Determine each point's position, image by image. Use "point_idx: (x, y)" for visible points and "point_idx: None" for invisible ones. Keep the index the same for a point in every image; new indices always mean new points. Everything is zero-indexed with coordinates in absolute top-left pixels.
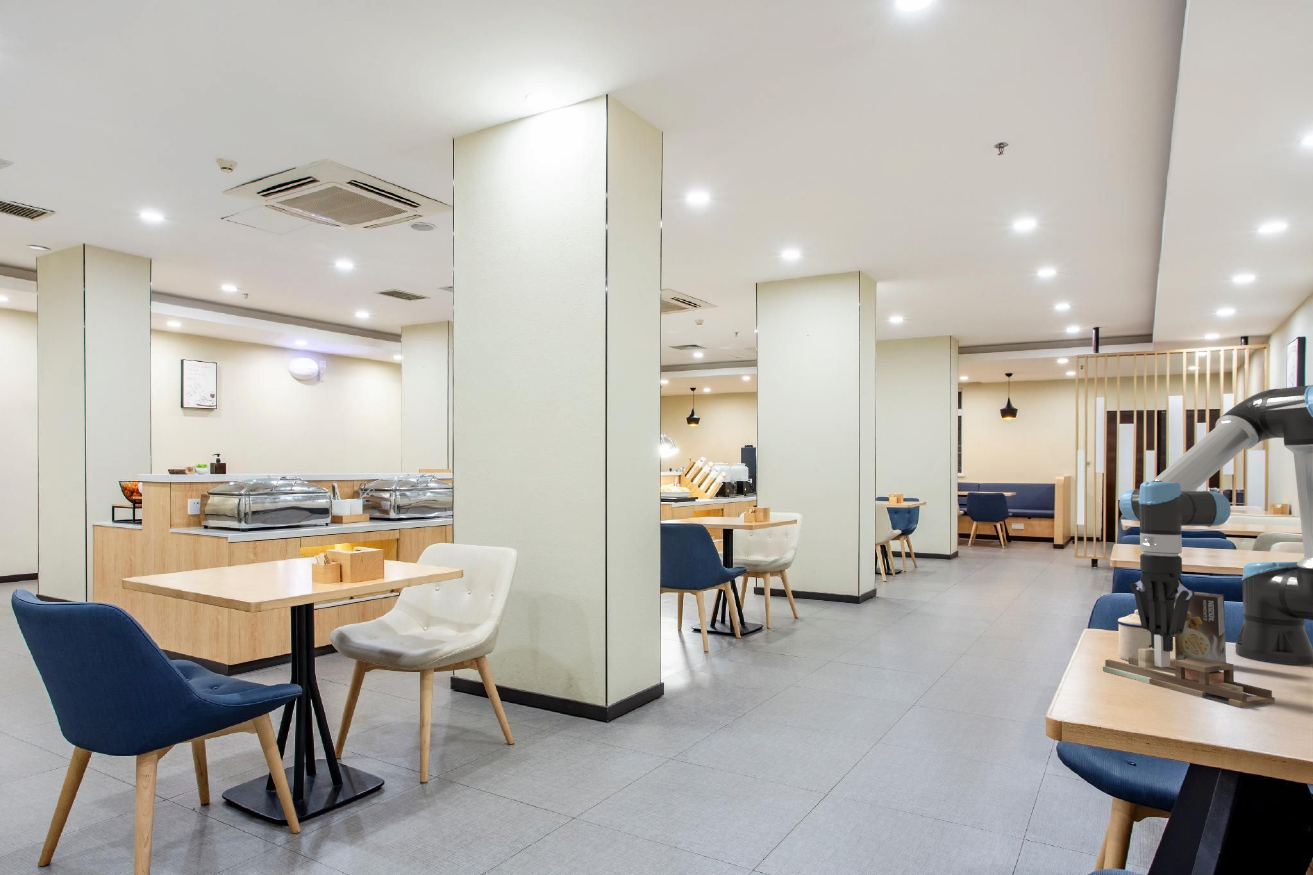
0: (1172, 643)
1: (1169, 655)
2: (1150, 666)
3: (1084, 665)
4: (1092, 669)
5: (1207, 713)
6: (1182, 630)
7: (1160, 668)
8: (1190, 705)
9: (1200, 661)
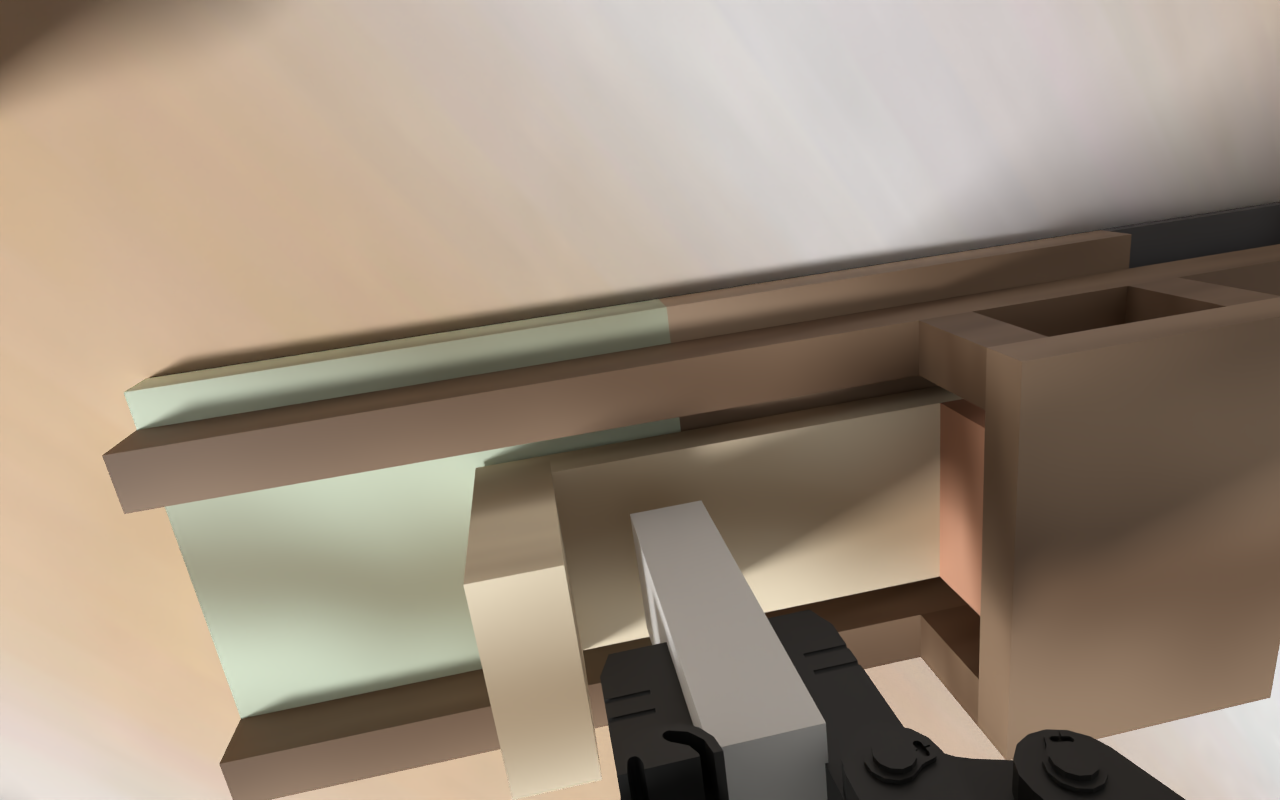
0: (865, 681)
1: (732, 563)
2: (573, 599)
3: (43, 779)
4: (209, 796)
5: (1261, 786)
6: (1143, 787)
7: (608, 516)
8: (1143, 768)
9: (1126, 555)
